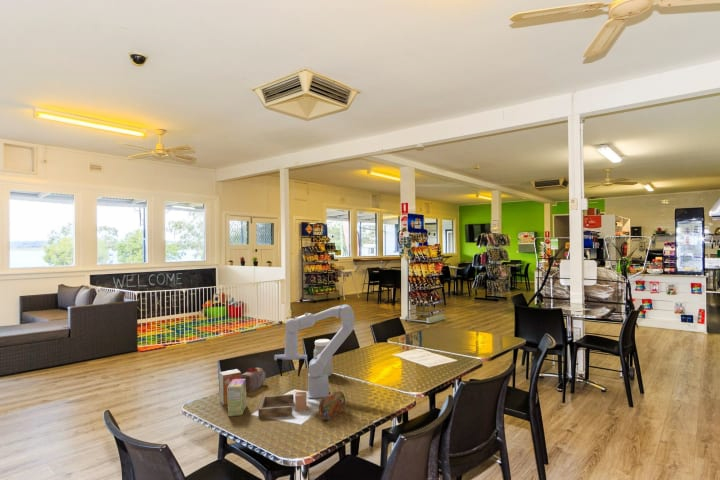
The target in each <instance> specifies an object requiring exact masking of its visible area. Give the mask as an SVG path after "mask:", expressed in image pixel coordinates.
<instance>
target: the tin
mask: <svg viewBox="0 0 720 480" xmlns="http://www.w3.org/2000/svg"><path fill="white" fill-rule="evenodd" d="M345 403H346V398H345V394H344V393H343V391H337V390H335V391H333V392H331V393H330V394H329V395H328V396H326V397H322V398H321V400H320V401H319V404H318V415H319V417H320V418H321V419H322V420H326V421H330V420H332V419H333V418H335V417H336V416H338V415H339V414H340V413H342V412H343V410H344V409H345Z"/></svg>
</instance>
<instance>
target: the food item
mask: <svg viewBox="0 0 720 480" xmlns="http://www.w3.org/2000/svg"><path fill="white" fill-rule="evenodd" d="M241 379H246V394H250V393H251V392H253V391H254V390H258V389H259V388H260V387H261V386H262V385H264V383H266V372H265V371H264V370H263V368H261V367H250V368H249V367H248V368H247V369H246V372H244V373H241Z"/></svg>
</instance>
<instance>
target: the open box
mask: <svg viewBox="0 0 720 480" xmlns="http://www.w3.org/2000/svg"><path fill="white" fill-rule="evenodd" d="M294 399H295V395H294V394H291V393H290V394H278V395H276V394H275V395H266V396H265V395H263V396H262V397H261V401H260V404H259V407H258V409H257V411H258V413H257V414H258V419H265V418H266V419H267V418H276V417H290V416H293V406H292V405H288V404H295V403H294V402H295V400H294ZM273 405H275V406H273ZM276 405H280V406H276ZM281 405H284V406H281ZM266 406H267V407H266ZM268 406H269V407H268ZM270 406H271V407H270Z"/></svg>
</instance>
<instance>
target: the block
mask: <svg viewBox="0 0 720 480" xmlns="http://www.w3.org/2000/svg"><path fill="white" fill-rule="evenodd" d="M294 394H295V395H294V399H295V400H294V402H295V403H294V405H295V411H307V408H308V407H307V406H308V405H307V404H308V403H307V398H308V396H307V391H296V392H295V393H294Z"/></svg>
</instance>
